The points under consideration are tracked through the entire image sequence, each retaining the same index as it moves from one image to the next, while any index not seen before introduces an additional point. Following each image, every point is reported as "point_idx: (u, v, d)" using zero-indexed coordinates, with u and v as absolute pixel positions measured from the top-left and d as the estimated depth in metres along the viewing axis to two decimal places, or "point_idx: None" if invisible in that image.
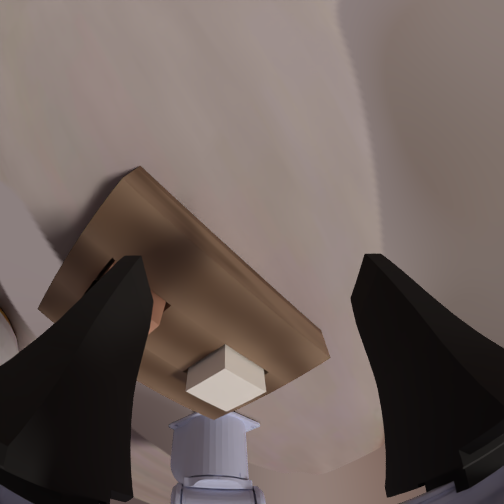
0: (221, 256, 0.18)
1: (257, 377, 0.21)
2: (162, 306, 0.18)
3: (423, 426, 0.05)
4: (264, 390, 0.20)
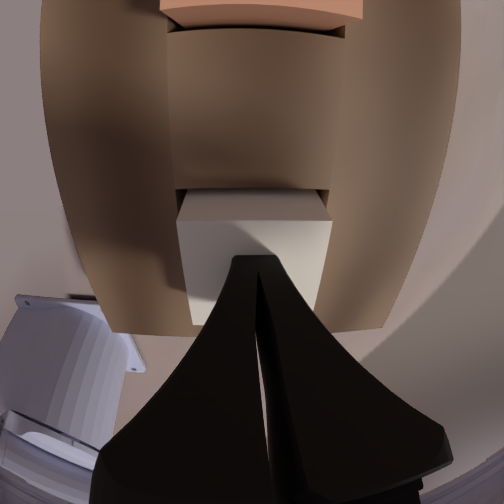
0: None
1: None
2: None
3: (277, 456, 0.05)
4: None
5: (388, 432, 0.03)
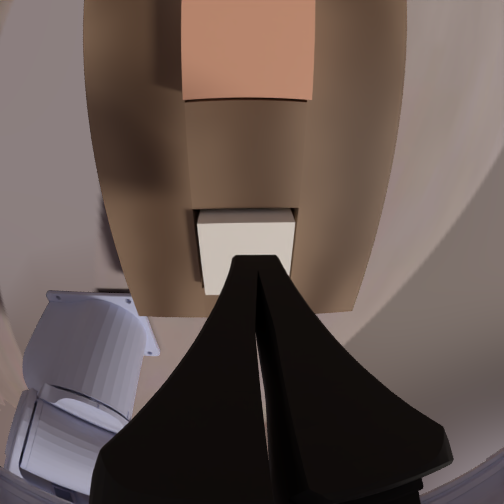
0: None
1: None
2: None
3: (277, 456, 0.05)
4: None
5: (388, 433, 0.03)
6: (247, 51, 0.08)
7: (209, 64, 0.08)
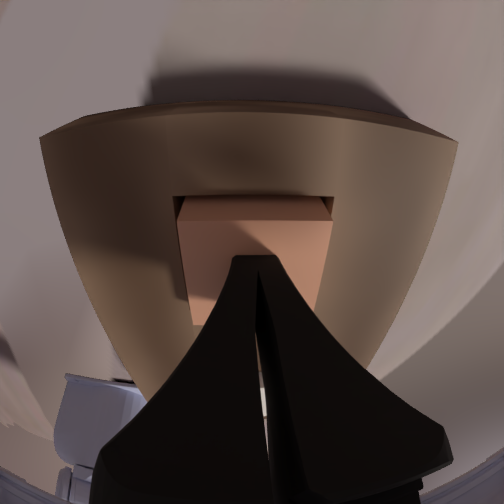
0: None
1: None
2: None
3: (277, 456, 0.05)
4: None
5: (389, 432, 0.03)
6: None
7: None
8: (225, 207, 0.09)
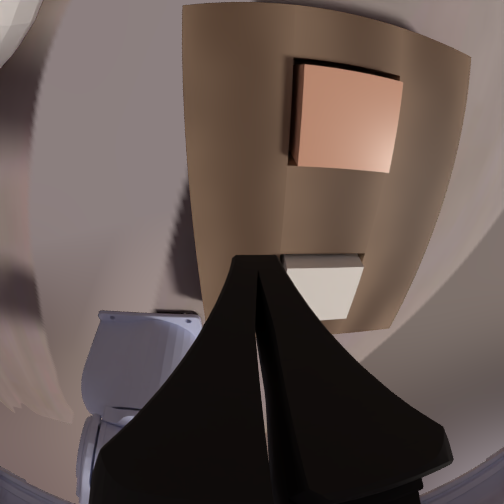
0: None
1: None
2: None
3: (277, 456, 0.05)
4: (346, 316, 0.18)
5: (388, 432, 0.03)
6: (351, 133, 0.11)
7: (322, 140, 0.11)
8: None
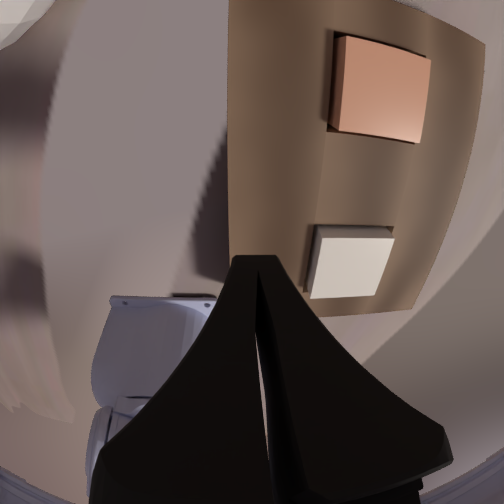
0: None
1: None
2: None
3: (277, 456, 0.05)
4: (374, 292, 0.17)
5: (389, 433, 0.03)
6: (387, 102, 0.10)
7: (361, 107, 0.11)
8: None
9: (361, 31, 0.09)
